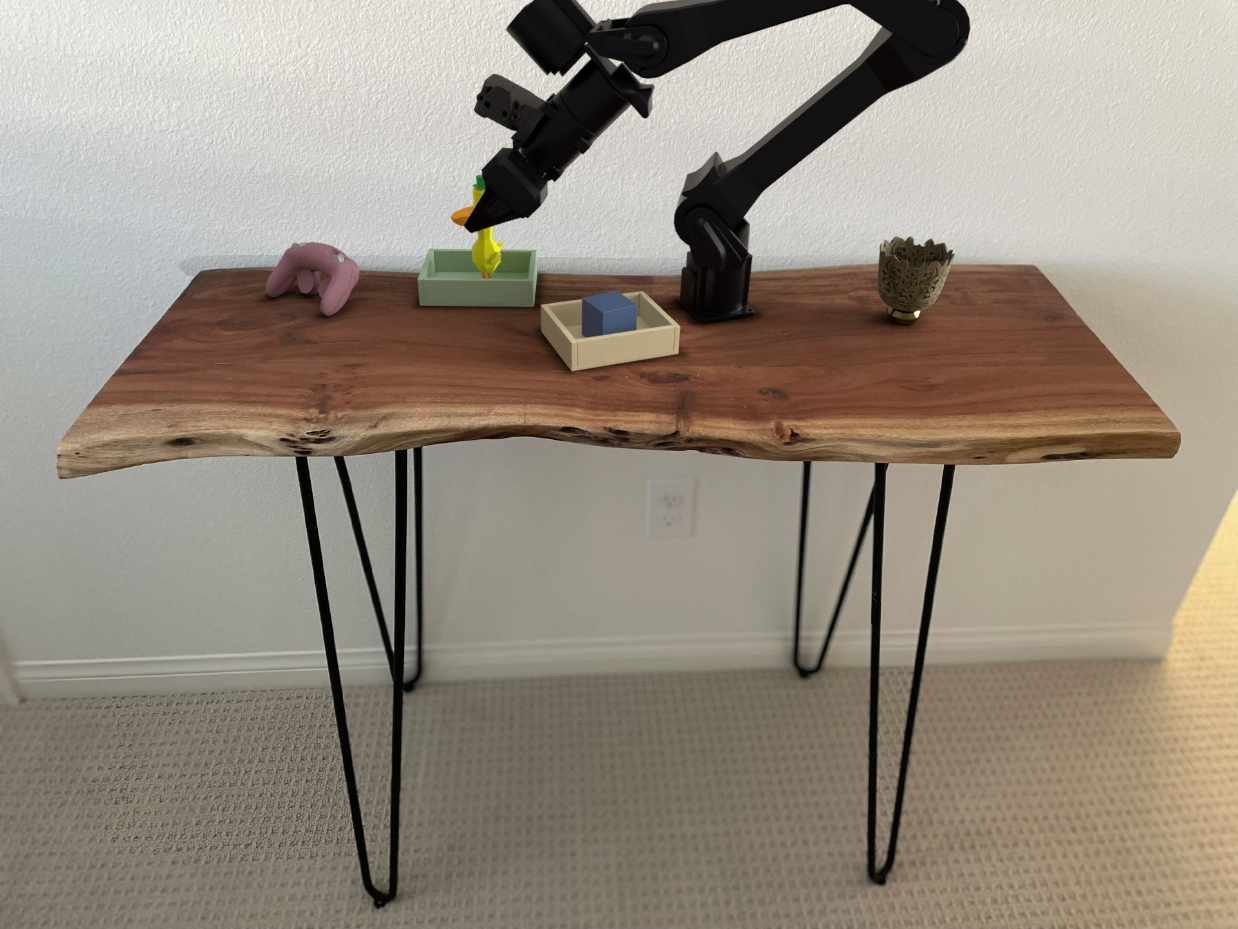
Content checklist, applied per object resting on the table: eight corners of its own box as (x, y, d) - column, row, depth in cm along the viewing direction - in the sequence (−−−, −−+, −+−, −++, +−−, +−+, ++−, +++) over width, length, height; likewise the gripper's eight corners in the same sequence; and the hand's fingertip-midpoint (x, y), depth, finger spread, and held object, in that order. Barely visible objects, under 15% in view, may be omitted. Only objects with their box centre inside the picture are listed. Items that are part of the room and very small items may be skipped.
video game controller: (356, 321, 100) (370, 256, 98) (324, 316, 96) (339, 249, 94) (292, 299, 104) (305, 237, 103) (259, 294, 100) (272, 229, 99)
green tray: (537, 274, 108) (536, 249, 106) (533, 307, 100) (533, 280, 99) (431, 273, 107) (428, 248, 106) (419, 305, 100) (417, 279, 98)
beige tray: (641, 317, 99) (642, 290, 97) (678, 354, 92) (680, 326, 90) (541, 331, 95) (540, 304, 94) (571, 371, 88) (571, 342, 87)
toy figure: (468, 298, 100) (460, 187, 94) (447, 288, 103) (439, 179, 96) (515, 282, 105) (511, 174, 98) (495, 273, 107) (490, 167, 100)
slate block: (615, 326, 96) (616, 290, 93) (636, 341, 93) (637, 304, 91) (581, 334, 94) (581, 297, 92) (602, 350, 91) (602, 312, 89)
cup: (861, 326, 98) (874, 253, 94) (872, 300, 104) (885, 231, 100) (933, 339, 96) (951, 265, 92) (941, 312, 102) (958, 242, 98)
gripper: (542, 32, 97) (448, 135, 104) (498, 65, 82) (391, 183, 89) (615, 114, 101) (519, 208, 108) (586, 162, 85) (477, 268, 92)
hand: (479, 214), depth 99 cm, fingers open, 9 cm apart
